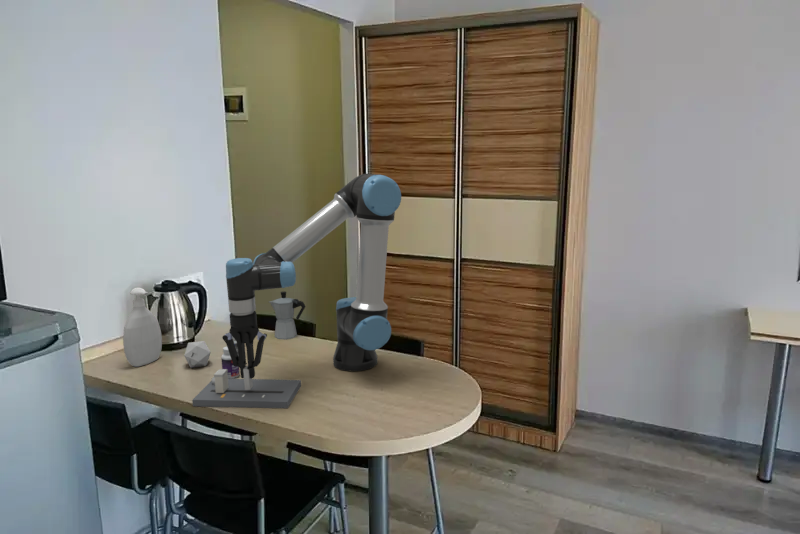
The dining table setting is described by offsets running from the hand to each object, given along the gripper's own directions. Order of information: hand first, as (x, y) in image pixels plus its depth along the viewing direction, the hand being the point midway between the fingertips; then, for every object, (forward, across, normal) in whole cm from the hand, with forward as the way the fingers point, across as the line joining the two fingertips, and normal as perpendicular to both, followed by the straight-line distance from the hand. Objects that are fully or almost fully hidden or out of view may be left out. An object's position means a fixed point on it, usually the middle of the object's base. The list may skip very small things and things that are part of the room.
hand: (248, 387), depth 177 cm
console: (+3, +1, -1) cm, 3 cm away
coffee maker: (+4, +4, -57) cm, 58 cm away
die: (+3, +27, -25) cm, 37 cm away
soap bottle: (+3, +46, -26) cm, 53 cm away
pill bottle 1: (+3, +12, -16) cm, 20 cm away
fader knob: (+1, +8, 0) cm, 8 cm away
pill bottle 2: (+3, +17, -33) cm, 37 cm away
